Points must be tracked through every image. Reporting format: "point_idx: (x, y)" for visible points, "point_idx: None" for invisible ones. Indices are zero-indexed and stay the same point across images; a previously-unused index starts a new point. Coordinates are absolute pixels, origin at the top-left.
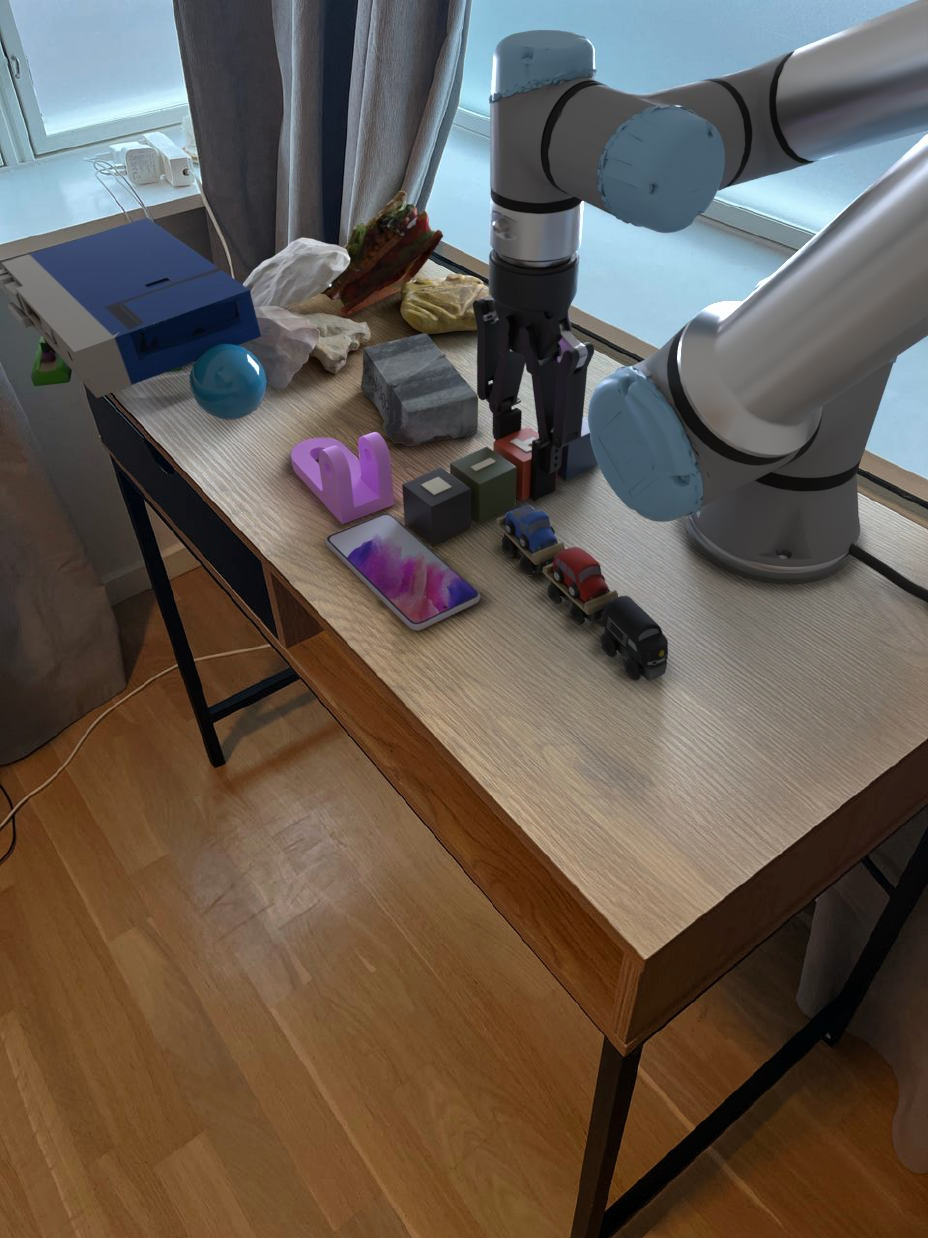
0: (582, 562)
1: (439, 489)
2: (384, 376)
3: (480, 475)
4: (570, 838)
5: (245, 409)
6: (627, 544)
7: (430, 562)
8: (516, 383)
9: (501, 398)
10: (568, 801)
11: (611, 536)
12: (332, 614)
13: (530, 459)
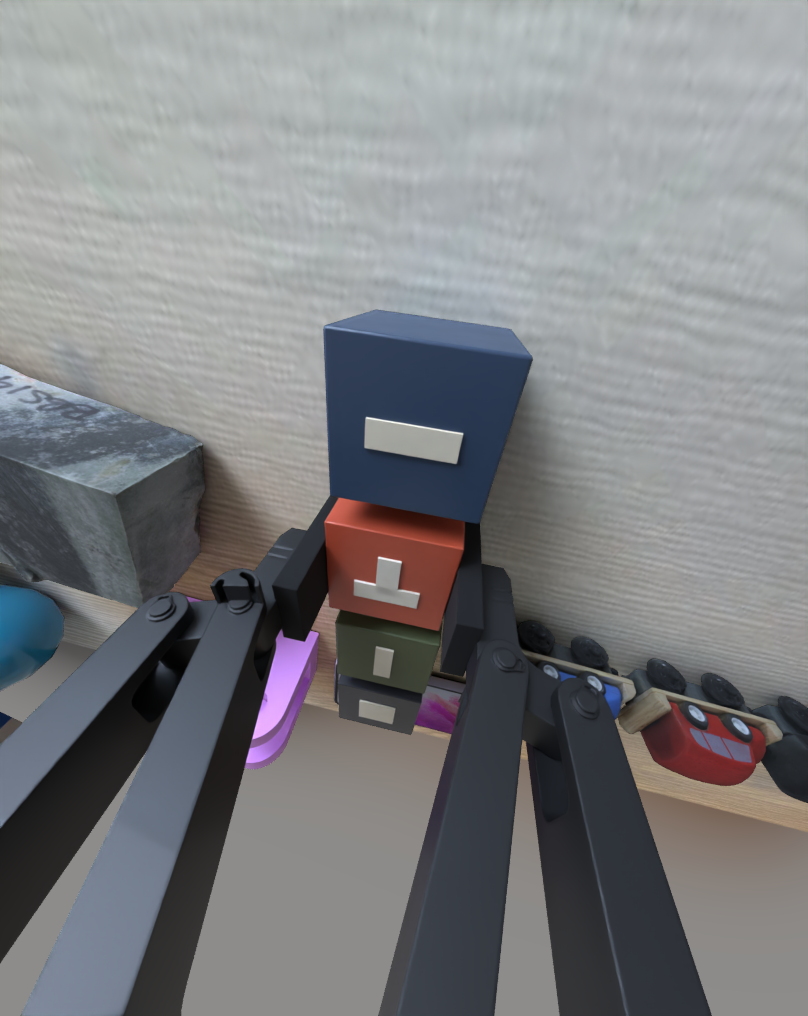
0: (724, 782)
1: (387, 716)
2: None
3: (405, 680)
4: (757, 810)
5: (54, 632)
6: (721, 549)
7: (449, 697)
8: (233, 725)
9: (260, 696)
10: (745, 798)
11: (673, 546)
12: (423, 731)
13: (442, 616)
